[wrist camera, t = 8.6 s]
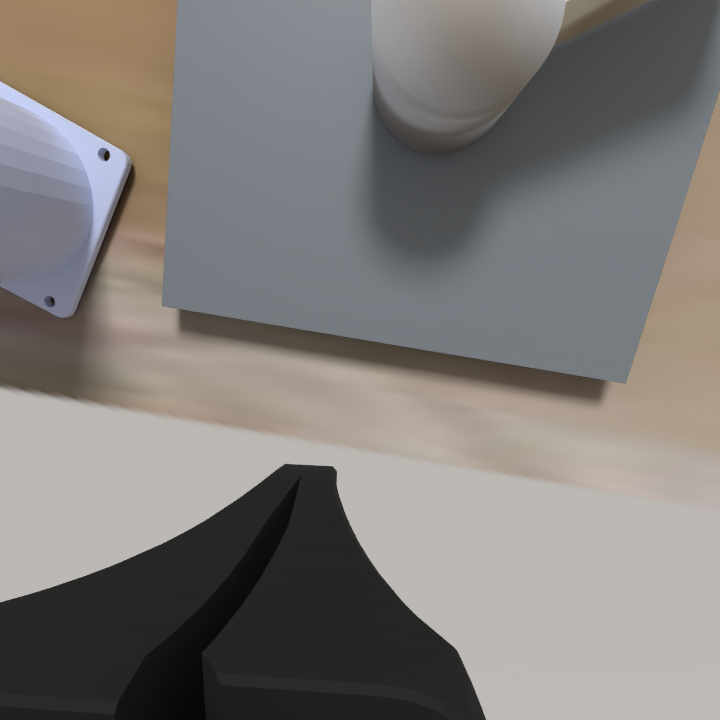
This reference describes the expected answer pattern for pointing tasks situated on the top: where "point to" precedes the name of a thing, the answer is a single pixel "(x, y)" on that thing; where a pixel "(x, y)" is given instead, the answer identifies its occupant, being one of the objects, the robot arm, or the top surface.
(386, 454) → the top surface
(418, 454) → the top surface
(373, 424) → the top surface
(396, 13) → the grey beige handled piece
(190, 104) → the latch plate
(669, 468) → the top surface
